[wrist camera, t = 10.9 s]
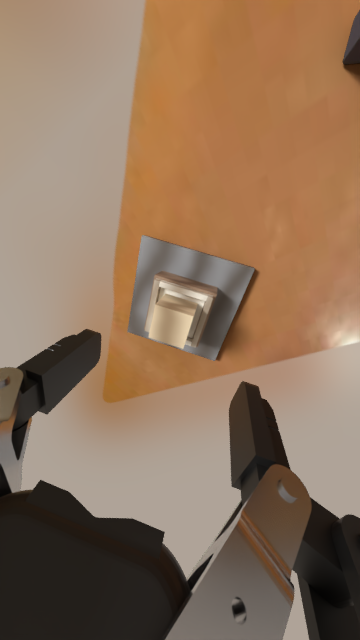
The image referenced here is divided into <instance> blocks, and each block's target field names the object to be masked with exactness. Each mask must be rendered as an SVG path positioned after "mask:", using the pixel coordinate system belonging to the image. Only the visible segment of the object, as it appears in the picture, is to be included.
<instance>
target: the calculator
mask: <svg viewBox="0 0 360 640" xmlns="http://www.w3.org/2000/svg"><path fill="white" fill-rule="evenodd" d="M355 63H360V10H359V12H358V14H357V15H356V17H355V19H354V22H353V25H352V29H351V33H350V36H349V40H348V44H347V47H346V51H345V55H344V59H343V64H355Z"/></svg>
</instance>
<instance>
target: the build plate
mask: <svg viewBox="0 0 360 640" xmlns="http://www.w3.org/2000/svg"><path fill="white" fill-rule="evenodd" d="M254 270H255V268H253V267H250V266H247V265H243V264H240V263H237V262H233V261H230V260H226V259H223V258H220V257H216V256H213V255H210V254H206V253H203V252H199V251H196V250H193V249H189V248H186V247H183V246H179V245H176V244H172V243H169V242H166V241H162V240H159V239H155V238H152V237H149V236H145V235H142V238H141V245H140V252H139V258H138V265H137V272H136V279H135V285H134V292H133V299H132V305H131V312H130V319H129V326H128V332H129V333H132V334H135V335H138V336H141V337H144V338H147V339H150V340H153V341H156V342H159V343H162V344H165V345H168V346H171V347H174V348H177V349H180V350H183V351H186V352H189V353H192V354H195V355H198V356H201V357H204V358H207V359H210V360H213V361H215V359H216V357H217V355H218V352H219V350H220V348H221V346H222V343H223V341H224V339H225V336H226V334H227V332H228V329H229V327H230V325H231V323H232V320H233V318H234V316H235V313H236V311H237V309H238V306H239V304H240V302H241V300H242V297H243V295H244V293H245V290H246V288H247V286H248V283H249V281H250V279H251V277H252V274H253V272H254ZM165 294H169V295H172V296H175V297H179V298H182V299H185V300H188V301H191V302H195V303H198V305H197V308H196V311H195V314H194V317H193V320H192V323H191V326H190V330H189V333H188V336H187V339H186V342H185V345H184V348H183V349H182V348H179V347H176V346H173V345H170V344H167V343H164V342H161V341H158V340H155V339H152V338H149V332H150V327H151V322H152V318H153V313H154V308H155V304H156V303H157V302H158V301H159V300H160V299H161V298H162V297H163V296H164V295H165Z"/></svg>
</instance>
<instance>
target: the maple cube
mask: <svg viewBox="0 0 360 640" xmlns="http://www.w3.org/2000/svg"><path fill="white" fill-rule="evenodd" d="M197 305H198V303H195V302H191V301H188V300H185V299H182V298H179V297H175V296H172V295H169V294H165V295H164V296H163V297H162V298H161V299H160V300H159V301H158V302H157V303H156V304H155V308H154V313H153V318H152V322H151V327H150V332H149V338H152V339H155V340H158V341H161V342H164V343H167V344H170V345H173V346H176V347H179V348H182V349H183V348H184V345H185V342H186V339H187V336H188V333H189V330H190V326H191V323H192V320H193V317H194V314H195V311H196V308H197Z"/></svg>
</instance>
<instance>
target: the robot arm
mask: <svg viewBox="0 0 360 640" xmlns="http://www.w3.org/2000/svg"><path fill="white" fill-rule="evenodd" d="M100 352H101V334H100V333H98V332H95V331H92V330H89V329H85V330H84V331H82V332H81V333H79V334H78V335H71V336H68V337H65V338H63V339H61V340H60V341H58V342H56V343H55V344H54V345H52V346H50V347H48V349H45V350H44V351H42V352H41V353H39V354H37V355H36V356H34V357H33V358H31V359H30V360H28V361H26V362H25V363H23V364H22V365H20V366H18V367H17V368H13V367H5V368H0V640H282V639H283V636H284V632H285V629H286V625H287V622H288V618H289V615H290V612H291V608H292V604H293V600H294V586H293V584H292V583H291V582H290V576H291V571H292V570H294V571H295V572H296V573H297V575H298V581H299V587H300V592H301V597H302V602H303V608H304V613H305V619H306V624H307V629H308V635H309V640H360V518H358V517H356V516H354V515H345V516H344V517H342V518H341V519H339V518H338V517H336V516H335V515H334V514H332V513H331V512H330V511H328V510H327V509H325V508H324V507H323V506H321V505H320V504H318V503H317V502H316V501H314V500H313V499H312V498H310V496H309V494H308V491H307V489H306V487H305V486H304V484H303V483H302V482H301V480H300V479H299V478H298V476H297V475H296V474H294V473H293V472H292V471H291V470H290V467H289V463H288V460H287V456H286V453H285V450H284V446H283V443H282V439H281V436H280V433H279V431H278V426H277V423H276V419H275V415H274V412H273V409H272V408H271V406H270V405H269V403H268V402H267V400H265V399H262V398H261V395H260V391H259V387H258V386H256V385H253V384H249V383H247V382H244V381H243V382H241V384H240V386H239V388H238V390H237V392H236V393H235V395H234V397H233V399H232V401H231V404H230V408H229V426H230V454H231V481H232V487H234V488H237V489H239V490H241V498H242V500H241V501H240V502H239V503H238V505H237V506H236V508H235V509H234V511H233V512H232V514H231V515H230V517H229V519H228V520H227V521H226V523H225V524H224V526H223V527H222V529H221V530H220V532H219V533H218V535H217V536H216V538H215V539H214V541H213V542H212V544H211V545H210V547H209V548H208V549H207V551H206V552H205V553H204V555H203V556H202V557H201V559H200V560H199V562H198V563H197V564H196V566H195V567H194V569H193V570H192V572H191V573H190V575H189V576H188V578H187V579H186V577H185V575H184V573H183V571H182V569H181V567H180V565H179V563H178V562H177V560H176V559H175V557H174V555H173V554H172V553H171V552H170V550H169V549H168V548H167V547H166V546H165V545H164V544H163V543H162V542H163V537H164V532H163V531H161V530H158V529H156V528H154V527H151V526H149V525H147V524H144V523H142V522H139V521H137V520H134V519H126V518H96V517H94V516H93V515H92V514H91V513H90V512H89V511H87V510H86V508H85V507H84V506H83V505H82V504H81V503H80V502H79V501H78V500H76V498H75V497H74V496H73V495H72V494H71V493H69V492H68V491H66V490H63V489H61V488H58V487H56V486H54V485H51V484H49V483H46V482H44V481H42V480H40V481H39V483H38V484H37V485H36V487H35V488H34V489H33V490H25V491H20V489H21V480H22V474H21V473H22V462H23V458H24V454H25V449H26V445H27V440H28V436H29V431H30V426H31V422H32V416H33V415H34V414H35V413H36V412H37V411H39V412H42V413H45V414H48V413H49V412H50V411H51V410H52V409H53V408H54V407H55V406H56V405H57V404H58V403H59V402H60V401H61V400H62V399H63V398H64V397H65V396H66V395H67V394H68V393H69V392H70V391H71V390H72V389H73V388H74V387H75V386H76V385H77V384H78V383H79V382H80V381H81V380H82V378H84V377H85V376H86V374H88V373H89V372H90V370H92V369H93V368H94V367H95V366H96V364H97V363H98V361H99V359H100Z"/></svg>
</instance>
